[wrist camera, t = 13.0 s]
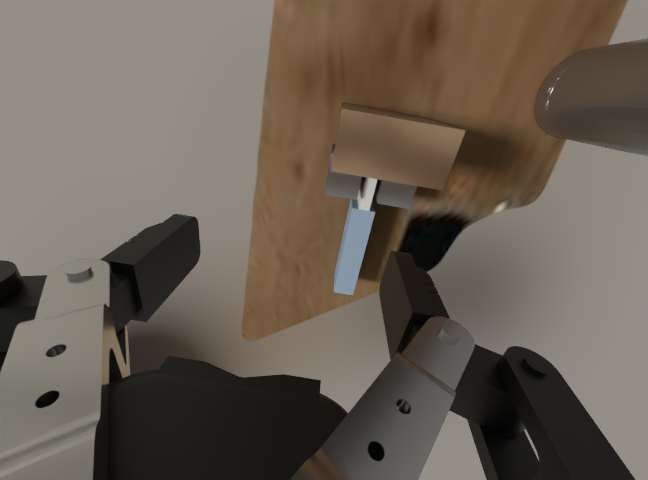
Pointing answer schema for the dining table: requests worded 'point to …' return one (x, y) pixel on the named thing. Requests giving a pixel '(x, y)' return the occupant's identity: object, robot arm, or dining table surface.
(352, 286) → the blue and white bar
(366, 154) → the brown and grey stand
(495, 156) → the dining table surface
